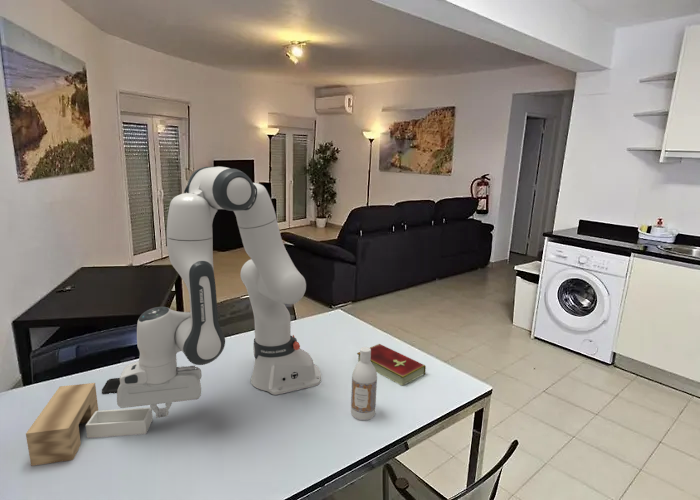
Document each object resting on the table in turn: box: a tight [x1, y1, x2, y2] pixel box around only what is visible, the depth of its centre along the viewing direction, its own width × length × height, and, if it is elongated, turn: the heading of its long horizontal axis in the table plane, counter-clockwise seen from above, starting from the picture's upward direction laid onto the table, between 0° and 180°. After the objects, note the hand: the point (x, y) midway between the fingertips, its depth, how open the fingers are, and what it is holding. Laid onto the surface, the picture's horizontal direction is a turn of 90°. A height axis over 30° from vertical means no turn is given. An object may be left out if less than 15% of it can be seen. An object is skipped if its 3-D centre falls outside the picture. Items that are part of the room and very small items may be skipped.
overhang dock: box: [25, 382, 99, 467], centre depth 106 cm, size 8×20×8 cm, turn 15°
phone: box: [101, 377, 120, 395], centre depth 131 cm, size 8×1×15 cm
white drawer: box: [85, 407, 154, 439], centre depth 110 cm, size 14×6×4 cm, turn 99°
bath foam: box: [350, 346, 378, 421], centre depth 118 cm, size 7×7×20 cm
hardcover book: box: [356, 343, 427, 386], centre depth 145 cm, size 12×21×4 cm, turn 43°
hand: (162, 416), depth 113 cm, fingers closed
